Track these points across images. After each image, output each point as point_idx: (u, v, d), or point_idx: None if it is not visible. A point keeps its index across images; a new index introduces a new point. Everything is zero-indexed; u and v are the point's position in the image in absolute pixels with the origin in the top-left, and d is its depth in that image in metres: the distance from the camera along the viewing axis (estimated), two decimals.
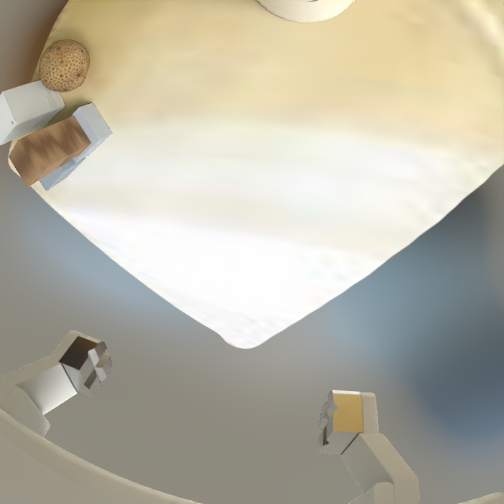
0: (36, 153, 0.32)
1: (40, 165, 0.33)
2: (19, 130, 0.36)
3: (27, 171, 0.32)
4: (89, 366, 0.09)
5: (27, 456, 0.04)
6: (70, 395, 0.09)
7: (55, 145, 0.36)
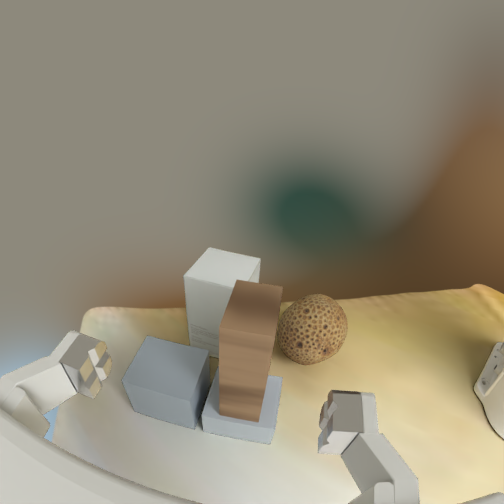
0: None
1: None
2: (214, 302, 0.34)
3: (252, 317, 0.22)
4: (89, 366, 0.09)
5: (27, 456, 0.04)
6: (70, 395, 0.09)
7: None
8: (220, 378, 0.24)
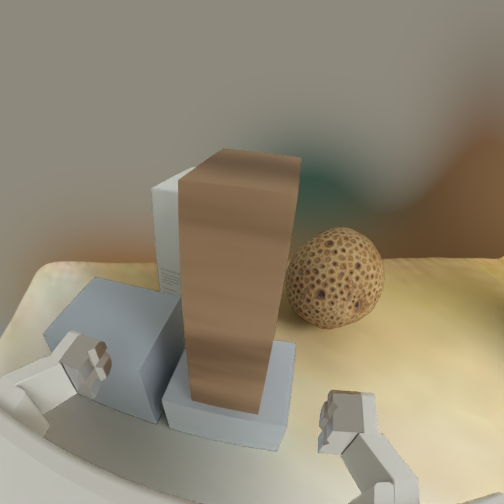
0: None
1: None
2: None
3: (248, 174, 0.11)
4: (89, 366, 0.09)
5: (27, 456, 0.04)
6: (70, 395, 0.09)
7: None
8: (186, 320, 0.13)
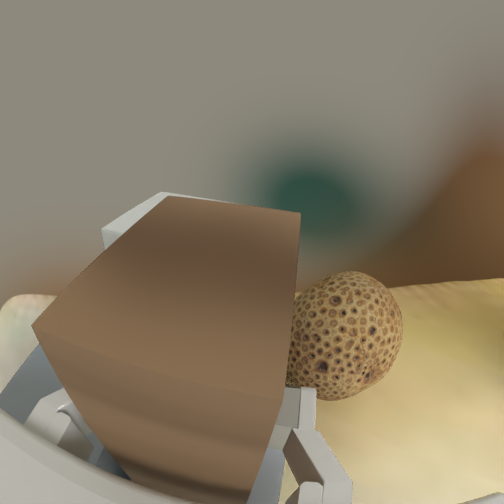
0: None
1: None
2: None
3: (180, 296, 0.05)
4: None
5: (27, 456, 0.04)
6: None
7: None
8: (123, 466, 0.07)
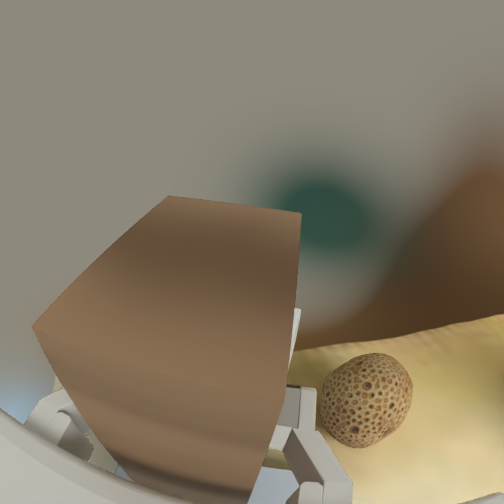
0: None
1: None
2: None
3: (181, 296, 0.05)
4: None
5: (27, 456, 0.04)
6: None
7: None
8: (123, 467, 0.07)
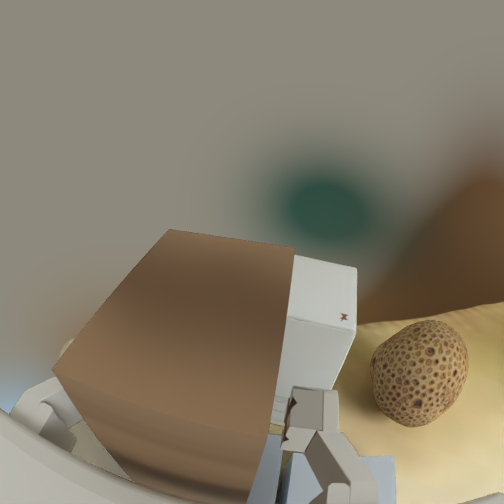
0: None
1: None
2: (294, 350, 0.18)
3: (181, 342, 0.06)
4: None
5: (27, 456, 0.04)
6: None
7: None
8: (131, 476, 0.08)
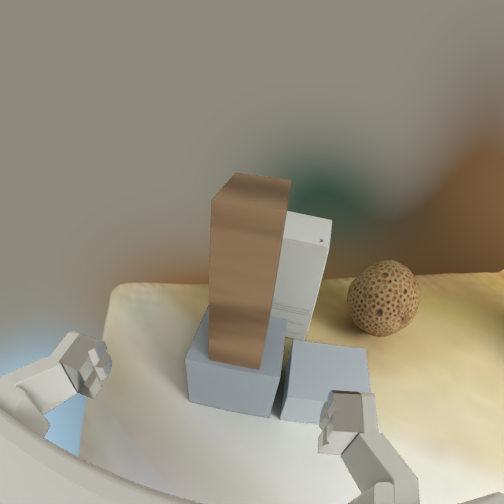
0: None
1: (283, 223, 0.17)
2: (291, 263, 0.30)
3: (255, 195, 0.18)
4: (89, 366, 0.09)
5: (27, 456, 0.04)
6: (70, 395, 0.09)
7: (276, 273, 0.21)
8: (210, 292, 0.20)
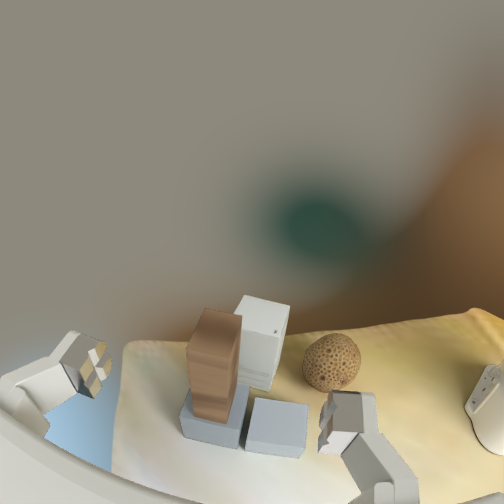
0: (235, 348, 0.29)
1: (230, 359, 0.27)
2: (253, 346, 0.40)
3: (213, 342, 0.27)
4: (89, 366, 0.09)
5: (27, 456, 0.04)
6: (70, 395, 0.09)
7: (233, 374, 0.31)
8: (191, 387, 0.29)
